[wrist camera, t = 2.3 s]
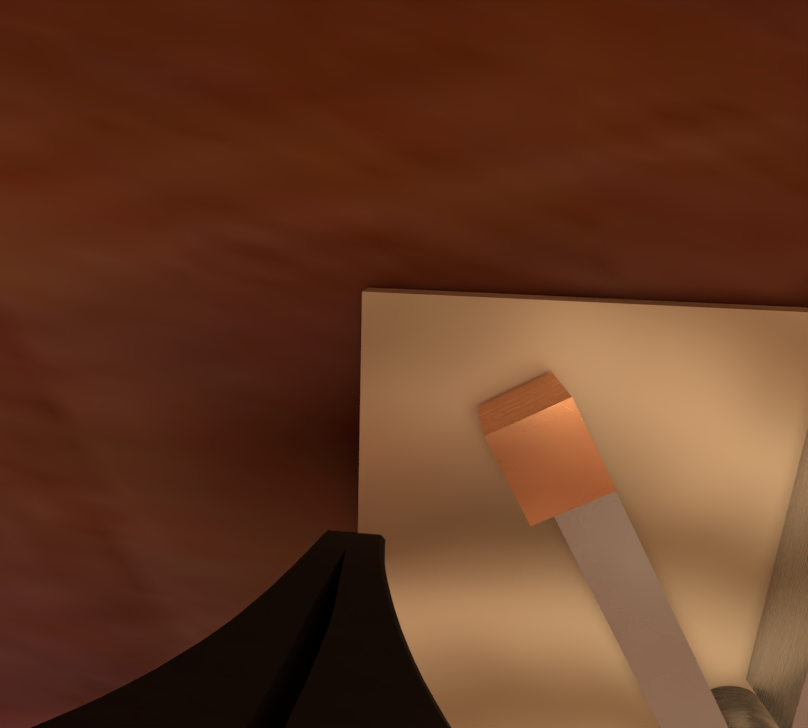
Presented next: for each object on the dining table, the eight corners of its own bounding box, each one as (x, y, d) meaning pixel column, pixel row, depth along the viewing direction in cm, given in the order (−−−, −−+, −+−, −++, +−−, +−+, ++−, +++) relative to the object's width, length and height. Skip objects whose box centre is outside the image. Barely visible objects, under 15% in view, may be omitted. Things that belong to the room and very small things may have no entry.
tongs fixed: (791, 782, 17) (858, 888, 14) (650, 768, 17) (690, 869, 14) (926, 317, 13) (1055, 338, 10) (743, 308, 13) (820, 327, 10)
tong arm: (705, 692, 16) (746, 763, 14) (636, 715, 16) (666, 787, 14) (551, 372, 14) (572, 396, 12) (478, 406, 14) (484, 436, 12)
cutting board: (873, 757, 18) (904, 794, 16) (359, 707, 19) (354, 737, 18) (1022, 317, 14) (1075, 324, 13) (368, 287, 15) (362, 291, 14)
